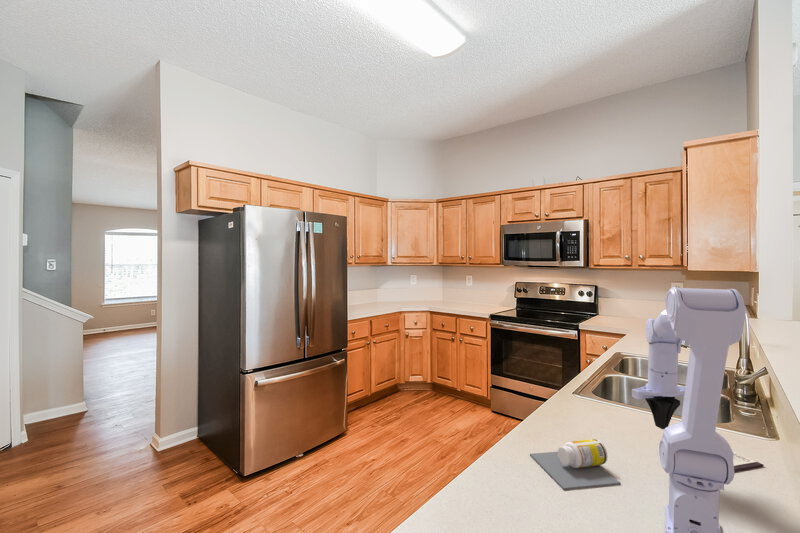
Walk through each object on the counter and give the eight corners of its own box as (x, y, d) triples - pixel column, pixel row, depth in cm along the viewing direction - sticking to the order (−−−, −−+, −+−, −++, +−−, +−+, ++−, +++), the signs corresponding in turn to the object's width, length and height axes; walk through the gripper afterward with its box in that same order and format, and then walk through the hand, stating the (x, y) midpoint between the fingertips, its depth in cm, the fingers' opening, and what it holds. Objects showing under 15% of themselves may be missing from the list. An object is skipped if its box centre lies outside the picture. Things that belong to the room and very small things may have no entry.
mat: (579, 451, 94) (579, 449, 94) (620, 484, 80) (620, 482, 80) (529, 455, 92) (529, 453, 92) (563, 489, 78) (563, 488, 78)
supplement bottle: (588, 451, 92) (553, 455, 89) (594, 433, 90) (558, 437, 88) (605, 470, 87) (567, 475, 84) (611, 451, 85) (573, 456, 82)
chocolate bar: (668, 454, 92) (722, 446, 97) (668, 458, 92) (722, 449, 97) (706, 474, 84) (763, 464, 88) (706, 479, 84) (763, 468, 88)
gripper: (674, 364, 92) (672, 418, 93) (622, 366, 90) (621, 421, 90) (701, 373, 85) (699, 431, 86) (646, 375, 83) (644, 435, 83)
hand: (661, 427), depth 88 cm, fingers closed
